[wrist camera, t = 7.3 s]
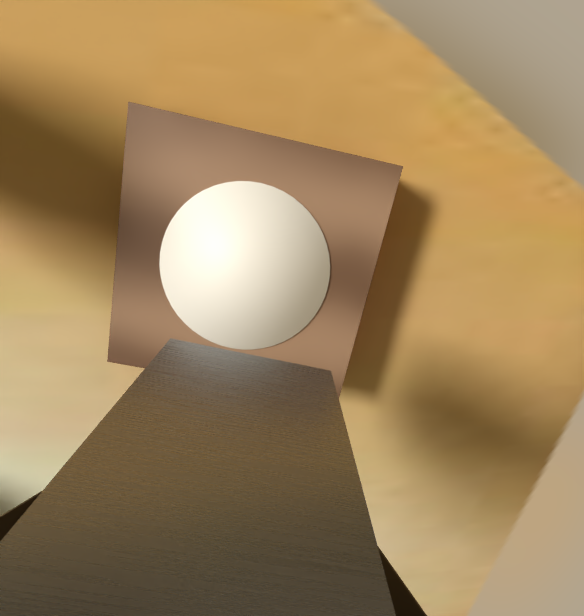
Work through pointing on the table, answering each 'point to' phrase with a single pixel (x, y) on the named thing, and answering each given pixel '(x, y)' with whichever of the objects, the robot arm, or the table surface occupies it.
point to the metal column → (204, 502)
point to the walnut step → (243, 242)
